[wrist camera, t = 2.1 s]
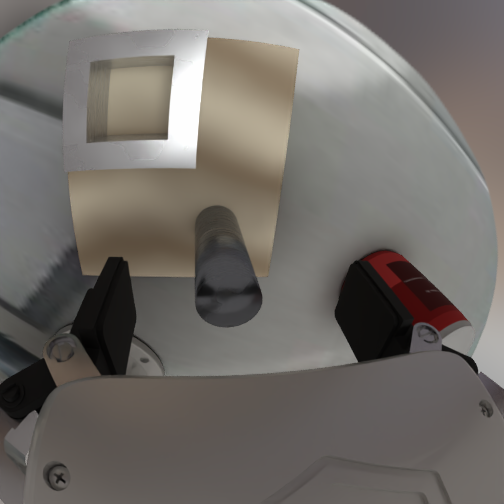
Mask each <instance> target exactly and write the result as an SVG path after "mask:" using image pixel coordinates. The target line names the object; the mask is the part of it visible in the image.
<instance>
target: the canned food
mask: <svg viewBox="0 0 504 504" xmlns="http://www.w3.org/2000/svg"><path fill="white" fill-rule="evenodd" d="M361 261H368V262H369V263H370V264H371V265H372V266H373V267H374V269H375V270H376V271H377V272H378V273H379V275H380V276H381V277H382V278H383V279H384V281H385V282H386V283H387V284H388V286H389V287H390V288H391V289H392V290H393V292H394V293H395V294H396V295H397V297H398V298H399V299H400V301H401V302H402V303H403V304H404V306H405V307H406V308H407V310H408V311H409V312H410V313H411V315H412V316H413V317H414V320H413V322H412V325H413V326H414V325H415V324H417V323H427V324H430V325H432V326H433V327H434V328H436V329H437V330H438V331H439V333H440V335H441V338H442V344H443V345H445V346H447V347H449V348H451V349H453V350H456V351H458V352H460V353H462V354H464V355H467V353H468V351H469V350H470V348H471V345H472V343H473V341H474V338H475V329H474V328H473V327H472V325H471V323H470V322H469V321H468V320H467V319H466V318H465V317H464V315H463V314H462V313H461V312H460V311H459V310H458V309H457V308H456V307H455V306H454V305H453V304H452V303H451V302H450V301H449V300H448V299H447V298H446V297H445V296H444V295H443V294H442V293H441V292H440V291H439V290H438V289H437V288H436V287H435V286H434V285H433V284H432V283H431V282H430V281H429V280H428V279H427V278H426V277H425V276H424V275H423V274H422V273H421V272H419V271H418V270H417V269H416V268H415V267H414V266H413V265H412V264H411V263H410V262H409V261H407V260H406V259H405V258H404V257H403V256H402V255H400V254H397V253H395V252H392V251H379V252H376V253H373V254H371V255H369V256H367V257H365V258H364V259H363V260H361ZM344 283H345V282H344ZM343 286H344V284H343ZM342 289H343V287H342ZM341 292H342V291H341Z"/></svg>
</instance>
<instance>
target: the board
mask: <svg viewBox="0 0 504 504" xmlns="http://www.w3.org/2000/svg"><path fill="white" fill-rule="evenodd" d="M298 56H299V49H295V48H290V47H284V46H279V45H273V44H267V43H260V42H252V41H244V40H234V39H222V38H207V46H206V54H205V62H204V71H203V80H202V90H201V100H200V112H199V124H198V137H197V152H196V168H195V169H194V168H133V169H104V170H86V171H72V172H68V181H69V192H70V202H71V210H72V218H73V225H74V231H75V238H76V243H77V249H78V254H79V259H80V264H81V269H82V274H83V275H99V276H100V273H101V271H102V269H103V267H104V265H105V263H106V261H107V259H108V257H123V259H124V261H128V265H129V273H130V276H144V277H195V222H196V218H197V216H198V215H199V214H200V212H201V211H203V210H204V209H205V208H207V207H210V206H215V205H219V206H224V207H226V208H228V209H230V210H231V211H232V212H233V213H234V214H235V216H236V218H237V221H238V224H239V227H240V230H241V233H242V236H243V239H244V242H245V245H246V248H247V251H248V254H249V257H250V260H251V263H252V266H253V269H254V272H255V275H256V277H268V274H269V267H270V261H271V255H272V248H273V241H274V235H275V228H276V222H277V215H278V208H279V201H280V194H281V187H282V180H283V173H284V166H285V159H286V151H287V144H288V136H289V129H290V121H291V113H292V105H293V97H294V89H295V81H296V73H297V64H298ZM173 67H174V66H144V67H128V68H117V69H111V73H110V84H109V98H108V118H107V135H123V134H155V133H168V127H169V111H170V98H171V87H172V76H173Z"/></svg>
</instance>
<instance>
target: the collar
mask: <svg viewBox="0 0 504 504" xmlns="http://www.w3.org/2000/svg"><path fill="white" fill-rule="evenodd" d="M207 38H208V30H193V29H168V30H145V31H133V32H123V33H114V34H107V35H100V36H94V37H88V38H83V39H78V40H73V41H70V42H69V48H68V56H67V64H66V73H65V84H64V100H63V158H64V172H72V171H86V170H104V169H133V168H194V169H195V168H196V152H197V137H198V124H199V112H200V100H201V90H202V80H203V71H204V62H205V54H206V46H207ZM144 66H174V67H173V76H172V87H171V98H170V111H169V127H168V133H155V134H123V135H107V118H108V98H109V84H110V73H111V69H117V68H128V67H144Z"/></svg>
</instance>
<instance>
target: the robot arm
mask: <svg viewBox="0 0 504 504" xmlns="http://www.w3.org/2000/svg"><path fill="white" fill-rule="evenodd" d="M335 318H336V320H337V322H338V324H339V326H340V327H341V329H342V331H343V333H344V335H345V337H346V339H347V341H348V343H349V345H350V347H351V349H352V351H353V353H354V355H355V357H356V359H357V360H358V363H352V364H346V365H339V366H332V367H325V368H317V369H309V370H300V371H290V372H279V373H267V374H252V375H232V376H165V373H164V368H163V366H162V364H161V361H160V360H159V358H158V357H157V356H156V354H155V353H154V352H153V351H152V350H151V349H150V348H149V347H147V346H146V345H145V344H144V343H142V342H141V341H139V340H138V339H136V338H135V337H133V333H134V328H135V323H136V309H135V304H134V298H133V292H132V286H131V279H130V273H129V265H128V261H124V259H123V257H108V259H107V261H106V263H105V265H104V267H103V269H102V271H101V273H100V276H99V278H98V280H97V282H96V284H95V286H94V288H90V289H89V290H88V291H87V293H86V295H85V297H84V300H83V302H82V304H81V306H80V309H79V311H78V313H77V316H76V318H75V320H74V323H73V325H69V326H66V327H64V328H62V329H60V330H59V331H58V332H57V333H56V334H55V335H54V336H53V337H51V338H50V339H49V340H48V341H47V342H46V343H45V345H44V347H43V356H44V358H43V359H41V360H39V361H38V362H36V363H34V364H32V365H30V366H29V367H27V368H25V369H23V370H22V371H20V372H18V373H16V374H15V375H13V376H11V377H9V378H8V379H6V380H5V381H3V382H2V383H1V385H0V499H1V500H2V501H3V502H4V503H5V504H504V389H503V388H501V387H500V386H499V385H498V384H496V383H495V382H494V381H493V380H491V379H490V378H488V377H487V376H486V375H485V374H483V373H482V372H480V373H479V374H478V368H477V365H476V363H475V362H474V360H473V359H472V358H471V357H469V356H467V355H464V354H462V353H460V352H458V351H456V350H453V349H451V348H449V347H447V346H445V345H443V344H442V338H441V335H440V333H439V331H438V330H437V329H436V328H434V327H433V326H432V325H430V324H427V323H417V324H415V325H414V326H413V325H412V322H413V320H414V317H413V316H412V315H411V313H410V312H409V311H408V310H407V308H406V307H405V306H404V304H403V303H402V302H401V301H400V299H399V298H398V297H397V295H396V294H395V293H394V292H393V290H392V289H391V288H390V287H389V286H388V284H387V283H386V282H385V281H384V279H383V278H382V277H381V276H380V275H379V273H378V272H377V271H376V270H375V269H374V267H373V266H372V265H371V264H370V263H369V262H368V261H355V262H354V263H353V264H351V265H350V268H349V271H348V274H347V277H346V280H345V283H344V286H343V289H342V292H341V295H340V297H339V300H338V303H337V306H336V309H335ZM28 451H29V455H28V460H27V466H26V463H25V456H26V454H27V452H28Z"/></svg>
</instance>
